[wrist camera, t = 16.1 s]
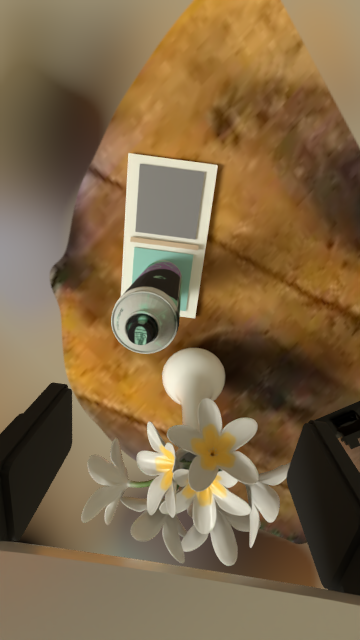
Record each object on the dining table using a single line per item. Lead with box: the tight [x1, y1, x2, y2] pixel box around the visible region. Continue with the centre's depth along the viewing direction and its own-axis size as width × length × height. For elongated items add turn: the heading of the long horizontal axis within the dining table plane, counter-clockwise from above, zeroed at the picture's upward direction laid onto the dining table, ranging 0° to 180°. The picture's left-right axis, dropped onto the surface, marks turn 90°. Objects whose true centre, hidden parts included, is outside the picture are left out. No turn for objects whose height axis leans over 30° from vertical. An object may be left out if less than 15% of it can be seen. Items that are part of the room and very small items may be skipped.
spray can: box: [111, 260, 182, 354], centre depth 29 cm, size 6×6×20 cm
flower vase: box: [81, 348, 291, 566], centre depth 32 cm, size 13×18×25 cm
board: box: [121, 153, 218, 318], centre depth 37 cm, size 11×20×2 cm, turn 173°
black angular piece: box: [314, 401, 360, 449], centre depth 45 cm, size 12×7×5 cm, turn 121°
